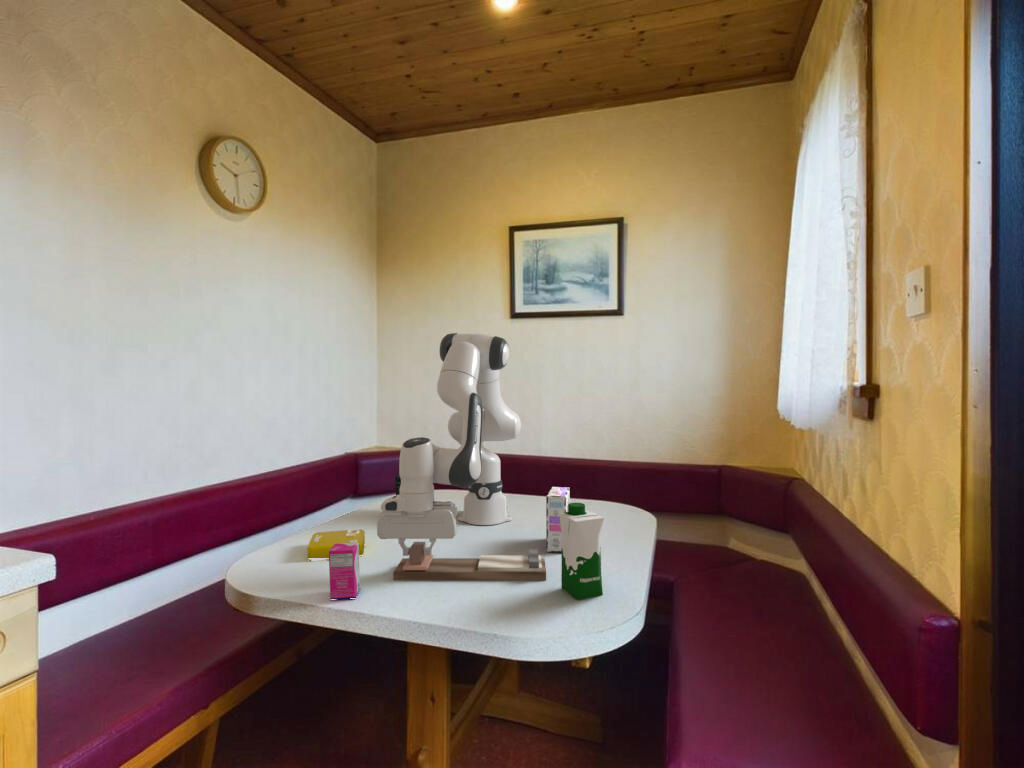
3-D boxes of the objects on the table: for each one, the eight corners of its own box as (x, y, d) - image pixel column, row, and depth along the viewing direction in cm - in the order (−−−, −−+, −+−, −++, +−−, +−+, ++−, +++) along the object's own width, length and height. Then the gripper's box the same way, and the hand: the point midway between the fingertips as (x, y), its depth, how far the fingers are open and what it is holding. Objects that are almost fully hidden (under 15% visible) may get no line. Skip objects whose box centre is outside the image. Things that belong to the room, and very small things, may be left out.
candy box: (566, 553, 148) (566, 496, 148) (545, 552, 150) (545, 495, 149) (570, 539, 162) (570, 486, 162) (551, 538, 163) (551, 485, 163)
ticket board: (402, 565, 140) (402, 548, 140) (544, 565, 139) (544, 548, 139) (393, 580, 130) (393, 561, 130) (546, 580, 129) (546, 561, 129)
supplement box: (335, 590, 123) (334, 542, 123) (360, 589, 124) (360, 541, 124) (328, 601, 118) (328, 550, 118) (355, 599, 118) (355, 549, 118)
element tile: (313, 546, 158) (313, 530, 158) (364, 542, 161) (364, 527, 161) (306, 563, 143) (306, 546, 143) (363, 558, 147) (363, 541, 147)
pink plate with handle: (410, 557, 139) (410, 539, 139) (433, 557, 139) (432, 539, 139) (402, 570, 130) (402, 551, 130) (426, 570, 130) (426, 551, 130)
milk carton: (587, 582, 128) (587, 500, 127) (608, 596, 119) (608, 508, 119) (556, 588, 124) (555, 504, 124) (575, 602, 116) (574, 513, 116)
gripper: (458, 498, 137) (459, 550, 137) (381, 498, 138) (382, 550, 138) (455, 504, 131) (456, 559, 131) (374, 504, 131) (375, 559, 132)
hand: (417, 554), depth 135 cm, fingers open, 4 cm apart
